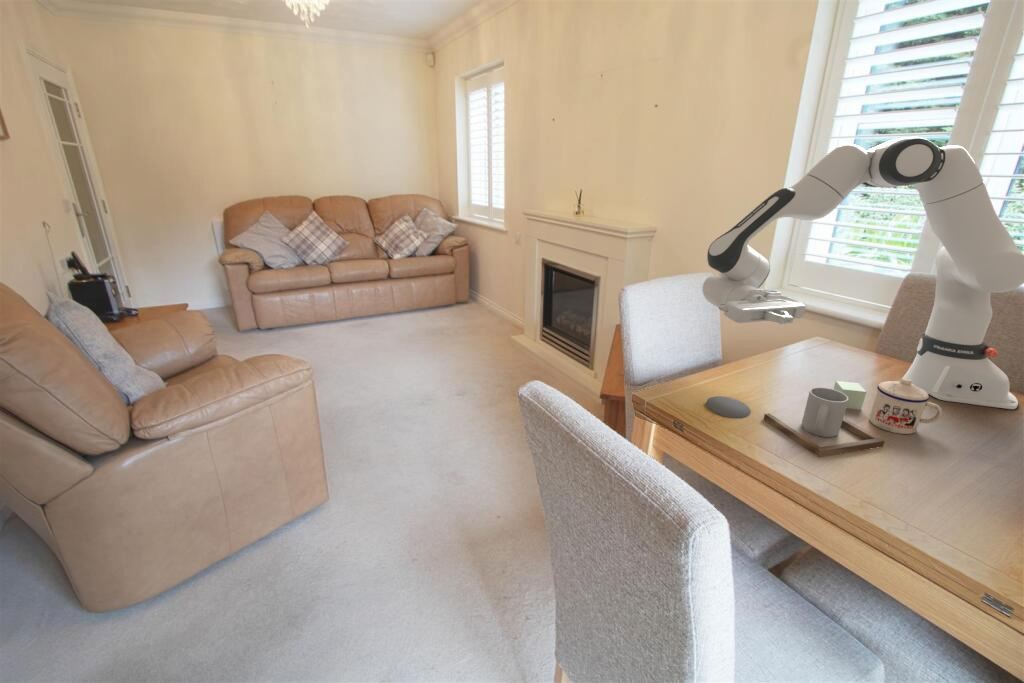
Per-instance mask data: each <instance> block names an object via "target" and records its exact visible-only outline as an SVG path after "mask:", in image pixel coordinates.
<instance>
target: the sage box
mask: <svg viewBox="0 0 1024 683" xmlns="http://www.w3.org/2000/svg"><path fill="white" fill-rule="evenodd" d="M834 382H835V383H834V386H833V390H837V391H839V392H842V393H844V394H845V395H847V397H848V403H847V406H846V409H852V410H862V408H863V405H864V402H865V398H866V395H867V390H866V389H865V388H864V387H863V386H862V385H861V384H860V383H859V382H851V381H841V380H839V381H838V380H836V381H834Z"/></svg>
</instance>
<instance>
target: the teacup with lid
mask: <svg viewBox="0 0 1024 683" xmlns="http://www.w3.org/2000/svg"><path fill="white" fill-rule="evenodd" d="M929 395H930V394H928V393H927V392H926V391H924V390H923V389H921V388H919V387H917V386H915V385H914V384H912V381H911V380H910V379H907V378H903V377H902V378H900V379H899V380H894V381H891V380H888V381H882V382H880V383H878V385H877V391H876V395H875V398H874V402H873V404H872V408H871V411H870V414H869V418H868V419H869V422H870V423H871V424H873V425H874V426H876V427H878V428H879V429H881V430H884V431H887V432H891V433H894V434H901V435H911V434H914V433H916V432H917V430H918V427H919V424H920V423H921V424H932V423H935V422H937V421H938V420H940V418H942V415H943V410H942V407H941V406H939V405H938V404H937V403H933V402H930V401H929V400H930V396H929ZM925 406H926V407H929V408H930V407H931V408H934V409H936V411H937V413H936V414H935V415H934V416H932V417H931V418H922V415H923V412H924V409H925Z"/></svg>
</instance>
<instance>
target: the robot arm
mask: <svg viewBox="0 0 1024 683" xmlns="http://www.w3.org/2000/svg"><path fill="white" fill-rule="evenodd" d="M860 185H864V186H867V187H871V188H885V189H887V188H896V187H902V186H904V187H905V186H910V185H912V186H914V188H915V189H916V190H917V192H918V194H919V198H920V201H921V203H922V205H923V209H924V211H925V214H926V216H927V219H928V221H929V224H930V227H931V229H932V232H933V233H934V234H935V236H936V237H937V238H938V239H939V241H940V243H941V244H942V245H943V246H941V248H940V249H939V250H938V251H937V254H936V255H935V261H934V262H935V266H936V279H935V280H936V281H935V293H934V295H935V296H934V301H933V302H934V303H933V307H932V310H931V314H930V318H929V320H928V324H927V326H926V329H925V332H923V333H922V335H921V337H920V339H919V342H918V345H917V349H916V351H917V354H916V355H915V357H914V360H913V362H912V363H911V365H910V367H909V369H908V370H907V371H906V373H905V374H904V376H902V378H907V379H910V380H911V381H912V384H914V385H915V386H917V387H919V388H921V389H923V390H924V391H926V392H927V393H928V395H930V396H931V397H934V398H936V399H938V400H940V401H946V402H953V403H954V402H955V403H961V404H970V405H976V406H983V407H992V408H1001V409H1007V410H1015V409H1017V408H1018V405H1019V401H1018V399H1017V398H1016V396H1015V394H1012V393H1013V392H1010V385H1011V384H1010V379H1009V377H1008V375H1006V373H1005V372H1004V371H1002V370H1001V369H1000V367H998V366H997V365H996V364H995V363H993V361H992V360H990V359H989V358H995V357H997V355H999V354H998V353H999V352H998V351H997V350H996V349H995V348H993V347H991V346H990V345H989V344H987V343H985V342H984V338H985V336H986V333H987V331H988V329H989V325H990V323H991V320H992V318H993V314H994V313H993V308H992V305H991V294H992V293H993V294H995V293H996V294H997V293H998V294H999V293H1000V294H1001V293H1006V292H1010V291H1013V290H1015V289H1017V288H1019V287H1021V286H1022V285H1024V254H1023V252H1022V251H1021V250H1020V249H1019V247H1018V246H1017V245H1016V241H1015V240H1014V239H1013V237H1012V236H1011V234H1010V232H1009V231H1008V229H1007V228H1006V227H1005V225H1004V224H1003V223H1002V221H1001V219H1000V218H999V216H998V215H997V212H996V211H995V209H994V205H993V203H992V200H991V197H990V195H989V192H988V190H987V187H986V184H985V180H984V179H983V176H982V174H981V172H980V170H979V168H978V166H977V164H976V162H975V161H974V159H973V157H972V156H971V155H970V154H969V152H968V151H967V149H966V148H964V147H963V146H961V145H946V146H942V147H940V146H938V145H936V144H935V143H933V142H932V141H930V140H929V139H927V138H924V137H919V136H907V137H901V138H895V139H891V140H887V141H885V142H883V143H879V144H875V145H874V146H871V147H869V148H867V149H865V148H863V147H861V146H859V145H857V144H852V143H845V144H842V145H841V144H840V145H838V146H837V147H835V148H834V149H833V150H832V151H830V152H829V153H827V155H825V156H824V157H823V158H822V159H821V160H819V161H818V163H816V164H815V165H814V166H813V167H812V168H811V169H810V170H809V171H808V172H807V173H806V174H805V175H804V176H803V177H802V178H801V179H800V180H799V181H798V182H797V183H795V184H793V185H791V186H790V187H785V188H781V189H778V190H776V191H775V192H774V193H772V194H771V195H769V196H768V197H767V198H765V199H764V201H762V202H760V204H758V205H757V206H756V207H754V209H753V210H752V211H750V212H749V213H748V214H747V215H746V216H744V217H743V218H742V219H741V220H740V221H739V222H738V223H736V224H735V225H734V226H733V227H731V228H730V229H729V230H728V231H726V232H725V233H723V234H721V235H719V237H717V238H715V240H713V241H712V242H711V243H710V245H709V247H708V250H707V258H706V260H707V264H708V266H709V267H710V268H712V269H713V270H715V271H717V272H718V273H717V274H713V275H710V276H709V277H707V278H706V279H705V280H704V282H703V284H702V295H703V297H704V298H705V300H706V301H707V302H708V303H710V304H711V305H713V306H714V307H716V308H717V309H718V310H720V311H722V312H723V315H724V316H725V317H727V318H728V319H730V321H733V322H735V323H739V324H747V323H758V322H771V323H772V322H774V323H777V324H779V325H788V324H793V322H794V320H795V319H796V320H798V319H799V320H800V319H803V318H804V314H805V313H806V312H805V311H806V304H805V303H803V302H801V301H799V300H797V299H794V298H793V297H790V296H787V295H783V294H782V292H781V291H779V290H774V289H764V288H761V287H762V286H763V284H764V283H765V281H766V280H767V279H768V276H769V275H770V272H771V263H770V261H769V260H768V259H767V258H766V257H764V255H762V254H761V253H760V252H758V251H757V250H755V248H752V247H751V246H750V245H749V242H750V241H751V240H752V239H753V238H755V237H756V236H757V235H758V234H759V233H761V232H762V231H763V230H765V229H766V228H767V226H769V225H770V224H771V223H773V222H775V221H776V220H780V219H782V218H792V219H796V220H800V221H801V220H802V221H814V220H819V219H822V218H824V217H826V216H827V215H830V213H832V212H833V211H834V210H835V209H836V208H838V206H840V204H841V203H842V202H843V201H844V200H845V199H846V198H847V197H848V196H849V195H850V193H852V192H853V190H855V189H856V188H858V186H860Z"/></svg>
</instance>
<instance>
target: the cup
mask: <svg viewBox="0 0 1024 683" xmlns="http://www.w3.org/2000/svg"><path fill="white" fill-rule="evenodd" d="M847 403H848V397H847V395H845V394H844V393H842V392H839V391H837V390H834V388H829V387H819V386H818V387H817V386H816V387H812V388H810V389H809V391H808V396H807V401H806V404H805V408H804V412H803V417H802V421H801V426H802V428H803V429H804V430H805V431H806V432H808V433H810V434H813V435H814V434H815V436H817V435H818V436H817V437H821V436H822V437H824V438H834V437H836V436H838V435H839V432H840V430H841V427H842V426H841V424H842V420H843V418H844V416H845V413H846V409H847V408H846V406H847Z"/></svg>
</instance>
